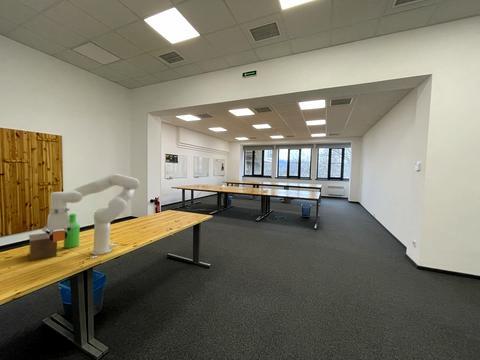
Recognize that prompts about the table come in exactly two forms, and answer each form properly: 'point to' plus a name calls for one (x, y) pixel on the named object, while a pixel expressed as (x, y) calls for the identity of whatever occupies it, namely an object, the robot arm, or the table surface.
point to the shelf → (41, 247)
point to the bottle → (72, 233)
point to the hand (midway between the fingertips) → (58, 239)
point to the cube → (58, 235)
